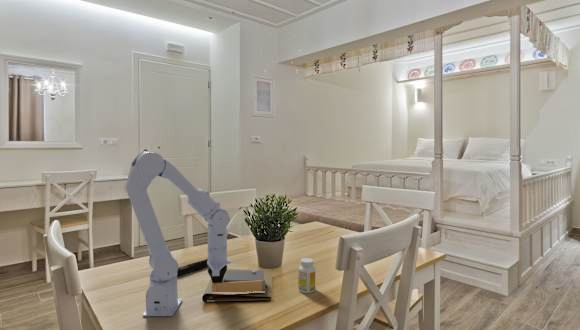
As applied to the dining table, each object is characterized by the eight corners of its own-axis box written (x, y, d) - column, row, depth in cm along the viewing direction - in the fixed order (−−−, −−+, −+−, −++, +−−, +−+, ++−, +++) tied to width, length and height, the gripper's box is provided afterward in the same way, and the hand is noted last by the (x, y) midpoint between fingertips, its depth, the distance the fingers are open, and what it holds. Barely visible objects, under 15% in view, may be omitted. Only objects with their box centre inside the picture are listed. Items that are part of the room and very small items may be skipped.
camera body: (262, 292, 106) (262, 278, 106) (223, 292, 106) (223, 278, 106) (263, 280, 115) (263, 267, 115) (228, 281, 115) (228, 268, 115)
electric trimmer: (212, 267, 129) (212, 259, 128) (174, 279, 117) (174, 270, 117) (207, 265, 131) (207, 257, 131) (169, 276, 120) (169, 267, 119)
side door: (265, 294, 105) (265, 281, 104) (212, 297, 102) (211, 284, 102) (265, 292, 106) (265, 279, 106) (212, 295, 104) (212, 282, 103)
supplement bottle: (299, 293, 105) (299, 263, 105) (297, 286, 111) (297, 257, 110) (316, 293, 106) (316, 262, 105) (313, 285, 111) (314, 257, 111)
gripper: (230, 253, 97) (230, 300, 98) (231, 239, 112) (231, 280, 112) (204, 254, 96) (204, 301, 97) (209, 240, 111) (209, 281, 111)
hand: (217, 290), depth 105 cm, fingers closed, pressing on camera body
